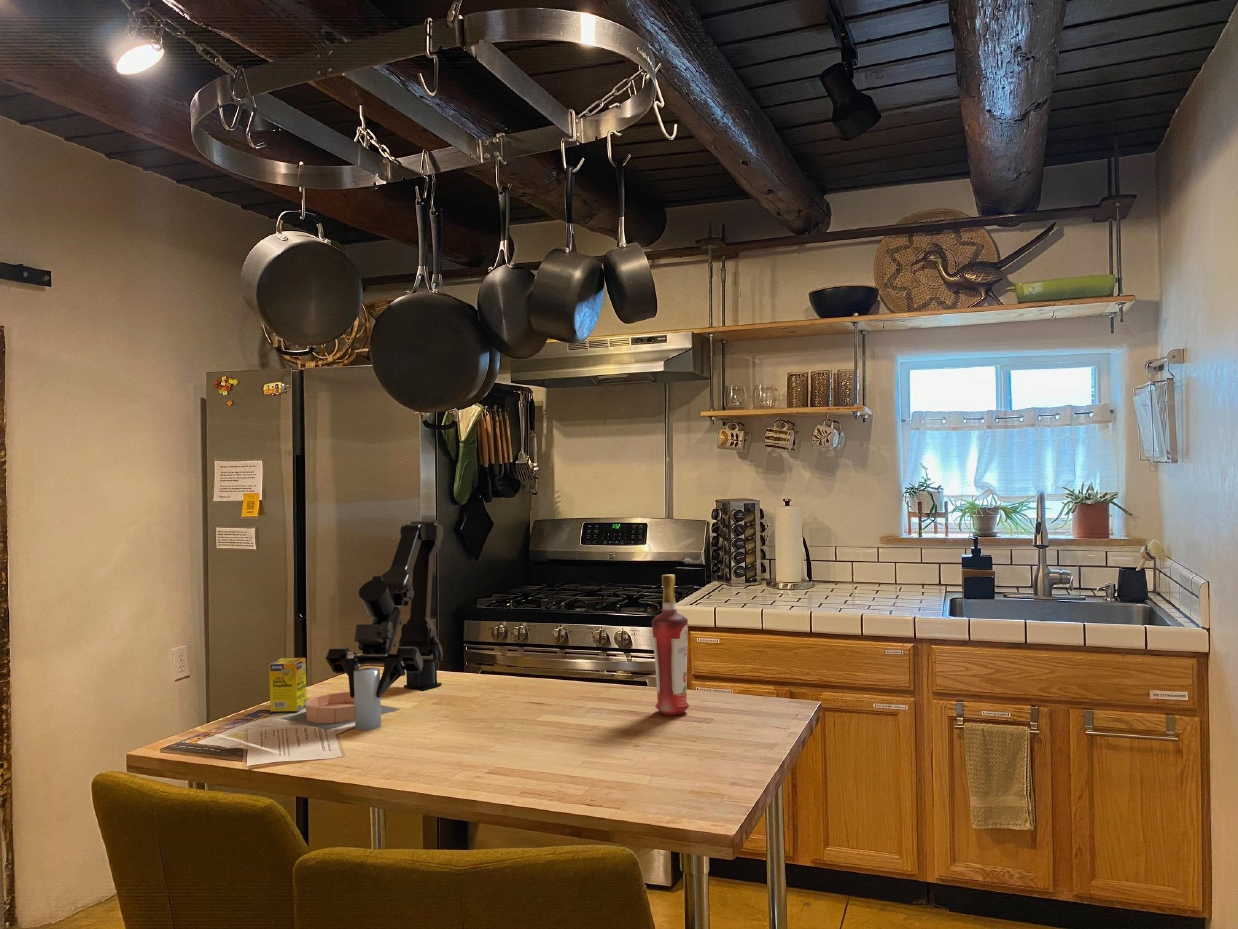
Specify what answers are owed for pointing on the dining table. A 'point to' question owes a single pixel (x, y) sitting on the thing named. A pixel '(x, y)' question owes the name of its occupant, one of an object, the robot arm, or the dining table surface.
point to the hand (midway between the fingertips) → (364, 696)
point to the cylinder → (367, 699)
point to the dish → (331, 708)
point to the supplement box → (287, 685)
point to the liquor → (670, 653)
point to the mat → (302, 719)
